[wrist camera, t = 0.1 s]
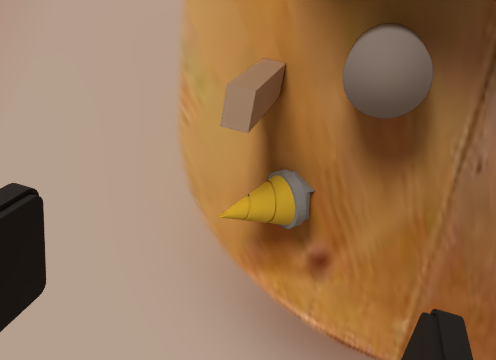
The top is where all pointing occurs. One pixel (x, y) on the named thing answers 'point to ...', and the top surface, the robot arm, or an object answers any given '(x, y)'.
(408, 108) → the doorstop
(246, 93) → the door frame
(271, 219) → the drill bit
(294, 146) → the top surface
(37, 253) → the robot arm
